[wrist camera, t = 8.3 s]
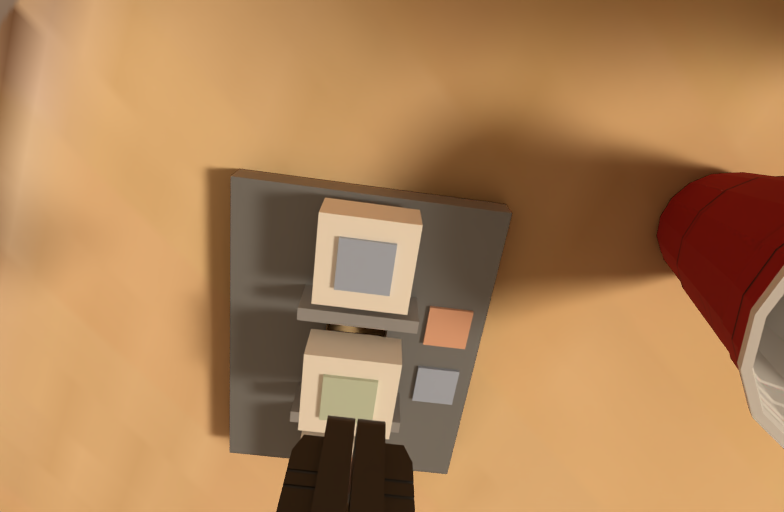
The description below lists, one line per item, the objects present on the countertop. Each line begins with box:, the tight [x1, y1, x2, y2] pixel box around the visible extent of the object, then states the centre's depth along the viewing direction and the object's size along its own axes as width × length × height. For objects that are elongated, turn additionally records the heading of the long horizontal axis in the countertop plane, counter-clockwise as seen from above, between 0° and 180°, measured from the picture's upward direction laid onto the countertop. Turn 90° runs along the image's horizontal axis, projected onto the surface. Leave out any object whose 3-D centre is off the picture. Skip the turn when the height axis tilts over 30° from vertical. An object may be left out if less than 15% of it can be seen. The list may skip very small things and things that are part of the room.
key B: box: [298, 329, 402, 439], centre depth 25 cm, size 5×5×4 cm
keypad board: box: [230, 169, 512, 474], centre depth 27 cm, size 18×14×4 cm
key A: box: [311, 198, 423, 315], centre depth 24 cm, size 5×5×4 cm
